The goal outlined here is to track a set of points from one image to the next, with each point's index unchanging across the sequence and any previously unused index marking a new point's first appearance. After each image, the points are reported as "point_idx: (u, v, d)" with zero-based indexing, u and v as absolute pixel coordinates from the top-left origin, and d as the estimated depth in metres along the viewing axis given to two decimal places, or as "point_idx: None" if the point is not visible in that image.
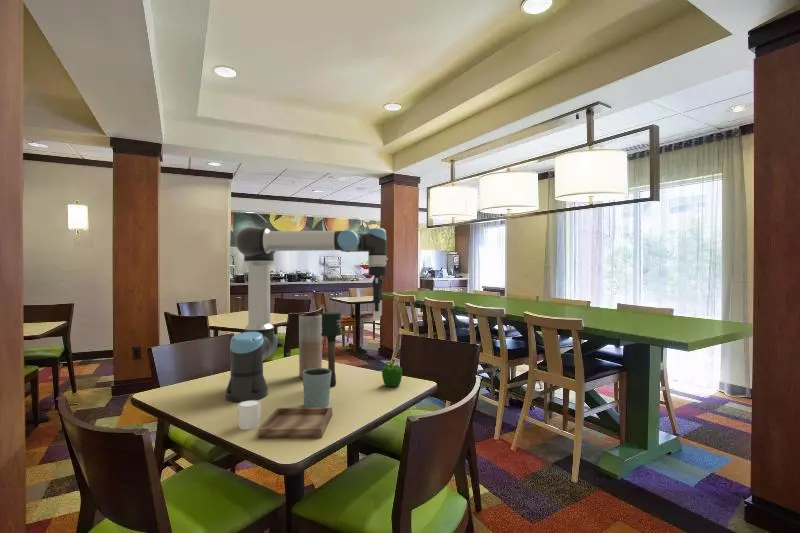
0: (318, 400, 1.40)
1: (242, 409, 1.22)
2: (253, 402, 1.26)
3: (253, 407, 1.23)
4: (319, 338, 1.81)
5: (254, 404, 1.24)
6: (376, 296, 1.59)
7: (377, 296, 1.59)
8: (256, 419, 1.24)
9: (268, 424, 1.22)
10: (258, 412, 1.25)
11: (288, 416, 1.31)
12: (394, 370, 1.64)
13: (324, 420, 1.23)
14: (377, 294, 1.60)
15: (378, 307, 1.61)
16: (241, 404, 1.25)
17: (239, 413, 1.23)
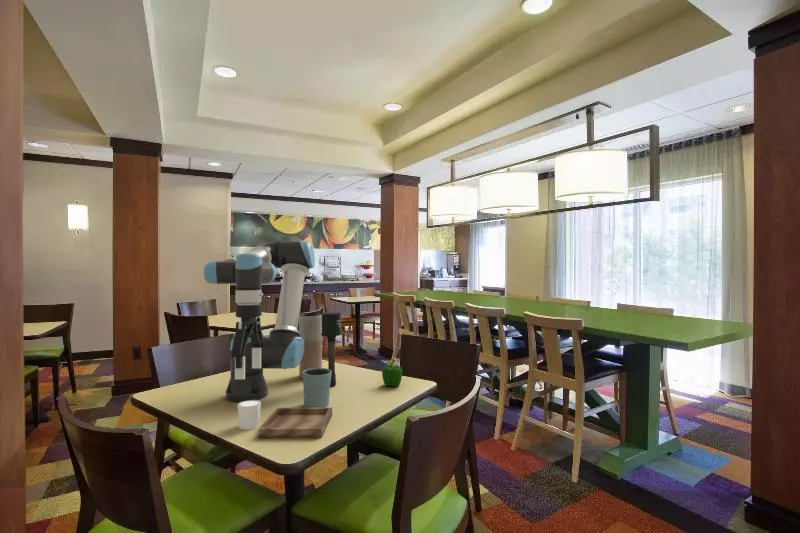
0: (318, 400, 1.40)
1: (242, 409, 1.22)
2: (253, 402, 1.26)
3: (253, 407, 1.23)
4: (319, 338, 1.81)
5: (254, 404, 1.24)
6: (236, 348, 1.16)
7: (237, 348, 1.16)
8: (256, 419, 1.24)
9: (268, 424, 1.22)
10: (258, 412, 1.25)
11: (288, 416, 1.31)
12: (394, 370, 1.64)
13: (324, 420, 1.23)
14: (237, 345, 1.16)
15: (241, 363, 1.17)
16: (241, 404, 1.24)
17: (239, 413, 1.23)
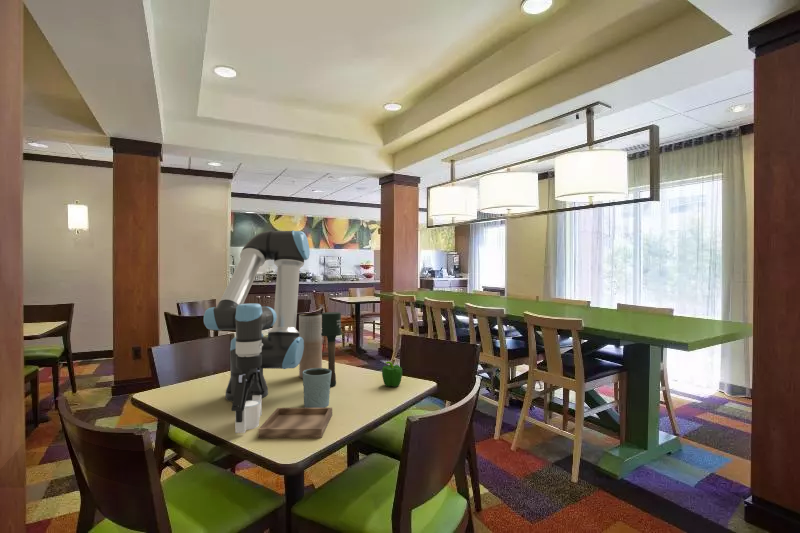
0: (318, 400, 1.40)
1: None
2: (253, 402, 1.26)
3: (253, 407, 1.23)
4: (319, 338, 1.81)
5: (254, 404, 1.24)
6: (236, 403, 1.16)
7: (238, 403, 1.16)
8: (256, 419, 1.24)
9: (268, 424, 1.22)
10: (258, 412, 1.25)
11: (288, 416, 1.31)
12: (394, 370, 1.64)
13: (324, 420, 1.23)
14: (238, 399, 1.16)
15: (241, 416, 1.17)
16: None
17: None
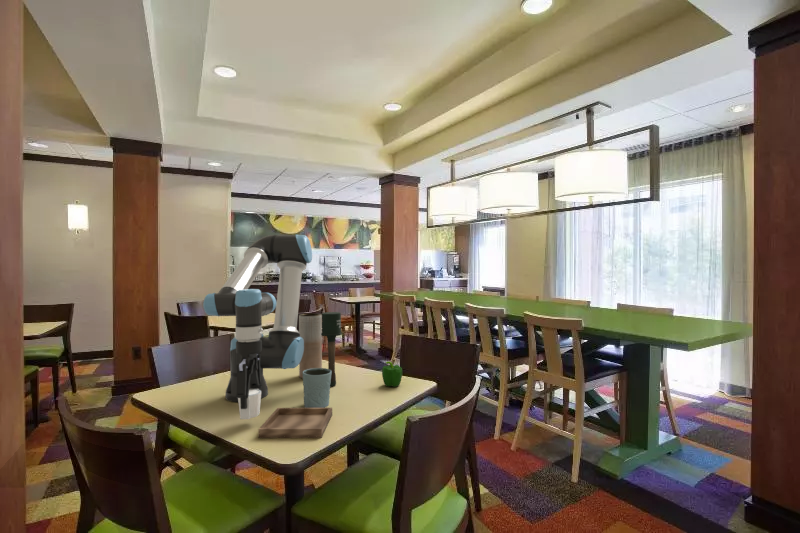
0: (318, 400, 1.40)
1: None
2: (253, 391, 1.27)
3: (253, 396, 1.23)
4: (319, 338, 1.81)
5: (254, 393, 1.25)
6: (240, 391, 1.19)
7: (242, 391, 1.19)
8: (257, 408, 1.24)
9: (268, 424, 1.22)
10: (258, 401, 1.25)
11: (288, 416, 1.31)
12: (394, 370, 1.64)
13: (324, 420, 1.23)
14: (241, 387, 1.19)
15: (246, 403, 1.21)
16: None
17: None
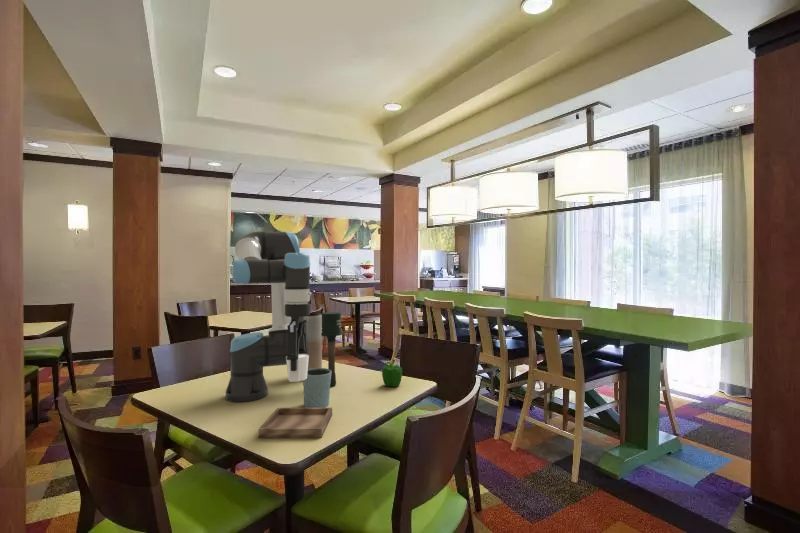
0: (318, 400, 1.40)
1: None
2: (301, 355, 1.26)
3: (302, 359, 1.23)
4: (319, 338, 1.81)
5: (303, 356, 1.24)
6: (291, 352, 1.18)
7: (293, 352, 1.18)
8: (305, 371, 1.24)
9: (268, 424, 1.22)
10: (307, 364, 1.25)
11: (288, 416, 1.31)
12: (394, 370, 1.64)
13: (324, 420, 1.23)
14: (292, 348, 1.18)
15: (296, 365, 1.21)
16: None
17: (288, 365, 1.23)
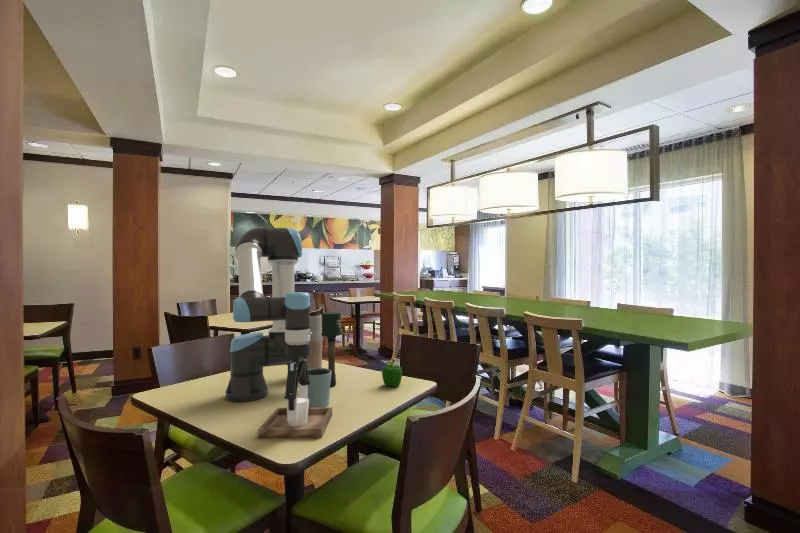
0: (318, 400, 1.40)
1: None
2: (301, 399, 1.26)
3: (303, 404, 1.23)
4: (319, 338, 1.81)
5: (303, 401, 1.24)
6: (289, 391, 1.16)
7: (291, 391, 1.16)
8: (305, 416, 1.24)
9: (268, 424, 1.22)
10: (307, 409, 1.24)
11: None
12: (394, 370, 1.64)
13: (324, 420, 1.23)
14: (290, 387, 1.16)
15: (294, 405, 1.18)
16: None
17: None
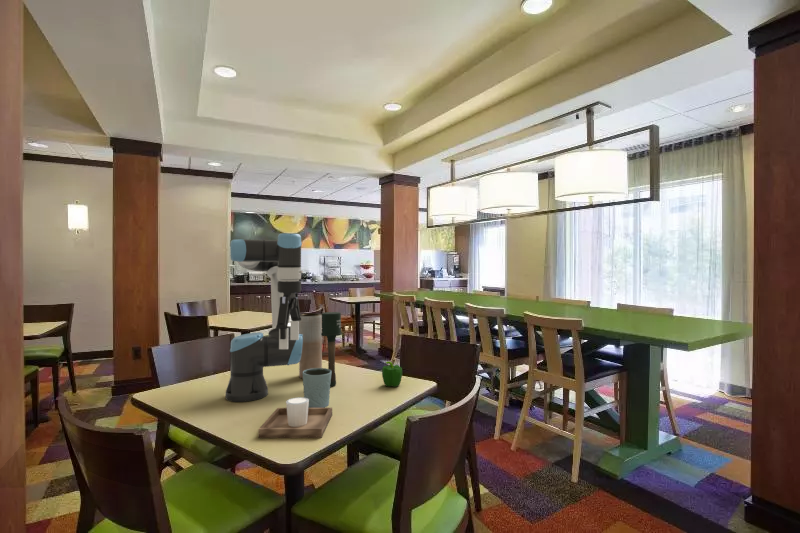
0: (318, 400, 1.40)
1: (292, 406, 1.22)
2: (301, 399, 1.26)
3: (302, 404, 1.23)
4: (319, 338, 1.81)
5: (303, 401, 1.24)
6: (281, 321, 1.26)
7: (282, 321, 1.26)
8: (305, 416, 1.24)
9: (268, 424, 1.22)
10: (307, 409, 1.24)
11: None
12: (394, 370, 1.64)
13: (324, 420, 1.23)
14: (282, 318, 1.26)
15: (285, 334, 1.28)
16: (290, 401, 1.24)
17: (288, 410, 1.23)
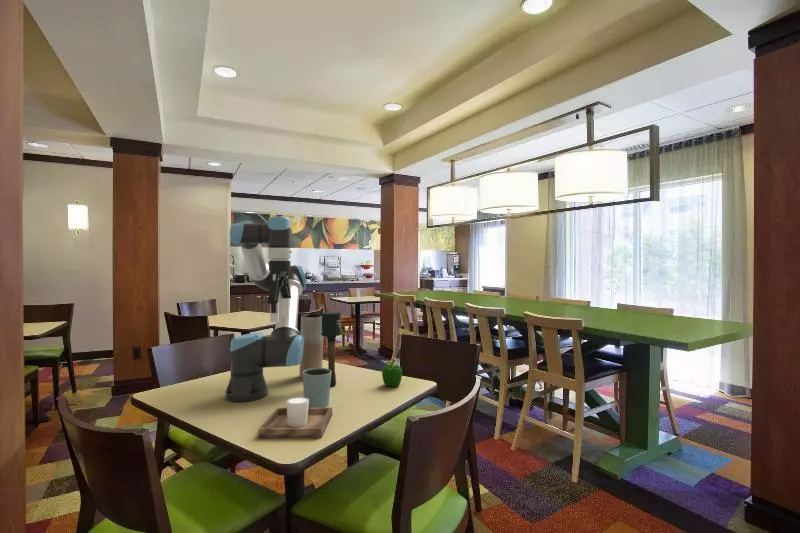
0: (318, 400, 1.40)
1: (292, 406, 1.22)
2: (301, 399, 1.26)
3: (303, 404, 1.23)
4: (321, 339, 1.81)
5: (303, 401, 1.24)
6: (272, 296, 1.37)
7: (273, 296, 1.37)
8: (305, 416, 1.24)
9: (268, 424, 1.22)
10: (307, 409, 1.24)
11: None
12: (394, 370, 1.64)
13: (324, 420, 1.23)
14: (273, 293, 1.37)
15: (275, 308, 1.39)
16: (290, 401, 1.24)
17: (289, 410, 1.23)
